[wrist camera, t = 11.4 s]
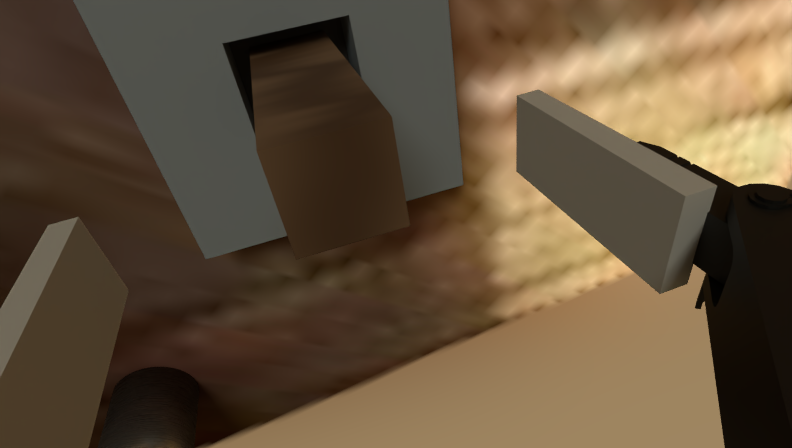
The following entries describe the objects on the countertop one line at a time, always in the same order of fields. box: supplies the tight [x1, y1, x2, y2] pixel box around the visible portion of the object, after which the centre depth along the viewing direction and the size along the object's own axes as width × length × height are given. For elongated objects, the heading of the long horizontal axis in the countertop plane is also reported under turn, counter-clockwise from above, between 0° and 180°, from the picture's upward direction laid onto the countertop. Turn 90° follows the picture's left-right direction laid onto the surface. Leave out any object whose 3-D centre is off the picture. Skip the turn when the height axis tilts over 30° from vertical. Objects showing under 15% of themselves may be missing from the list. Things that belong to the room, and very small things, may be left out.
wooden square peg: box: [249, 30, 410, 260], centre depth 20 cm, size 4×4×14 cm
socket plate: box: [73, 0, 463, 259], centre depth 24 cm, size 16×16×4 cm
